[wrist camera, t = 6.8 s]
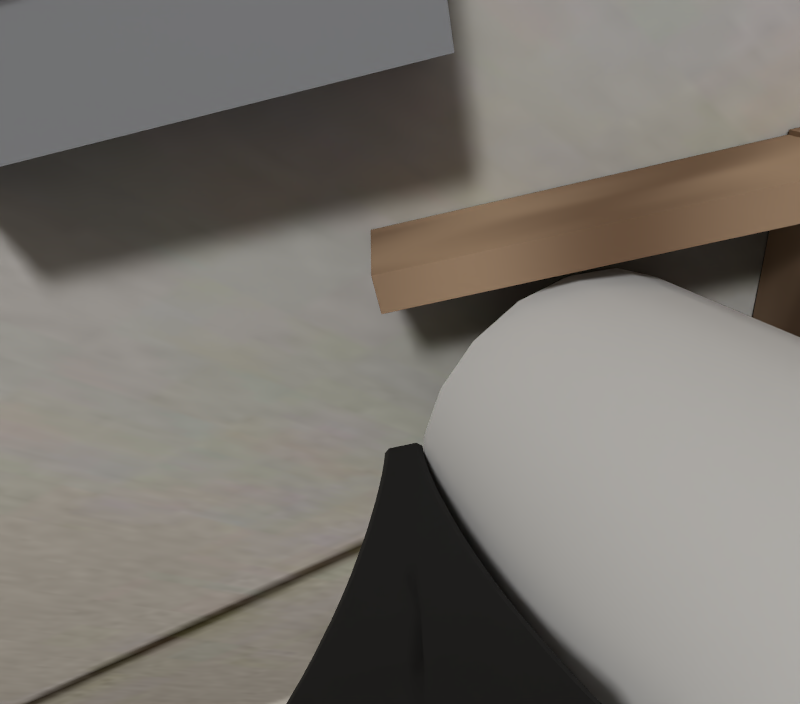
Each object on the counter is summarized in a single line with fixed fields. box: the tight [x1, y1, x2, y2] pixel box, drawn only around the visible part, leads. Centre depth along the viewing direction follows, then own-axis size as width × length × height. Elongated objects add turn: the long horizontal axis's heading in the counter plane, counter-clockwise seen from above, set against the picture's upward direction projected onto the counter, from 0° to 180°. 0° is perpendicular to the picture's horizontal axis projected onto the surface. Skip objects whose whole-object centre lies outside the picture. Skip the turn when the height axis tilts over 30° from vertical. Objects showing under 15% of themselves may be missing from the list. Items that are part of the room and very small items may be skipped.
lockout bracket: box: [371, 127, 800, 337], centre depth 11 cm, size 10×8×6 cm
